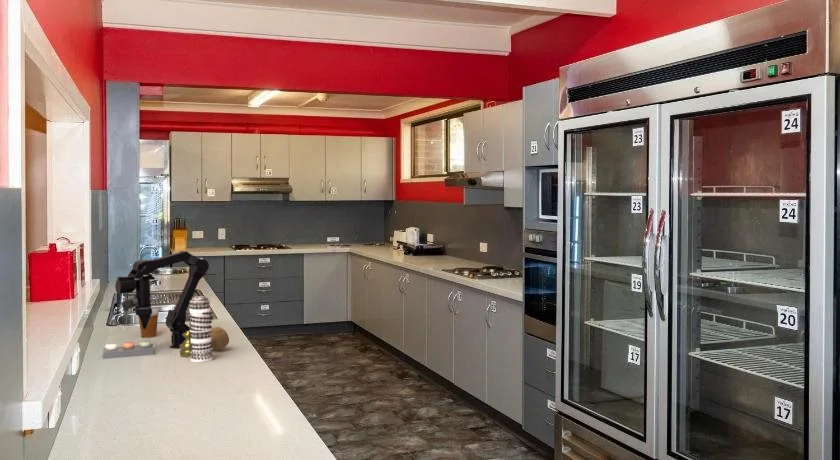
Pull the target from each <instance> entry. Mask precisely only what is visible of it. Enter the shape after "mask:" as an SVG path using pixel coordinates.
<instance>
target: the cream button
mask: <svg viewBox="0 0 840 460" xmlns="http://www.w3.org/2000/svg"><path fill="white" fill-rule="evenodd" d="M104 346H105V347H104V348H106V350H107V351H111V350H116V349H117V347H118V344H117V343H114V342H113V343H107V344H105V345H104Z"/></svg>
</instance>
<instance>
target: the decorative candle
mask: <svg viewBox="0 0 840 460" xmlns="http://www.w3.org/2000/svg"><path fill="white" fill-rule="evenodd" d="M210 301H211V299H209V298H208V297H207V296H206V295H197V296H192V299H191V301H189V302H190V303H189V313H188V314H187V316H188V321H189V322H188V325H189V329H190V332H191V343H190V345H191V347H190V349H192V350H191V351H190V353H191V356H190V357H189V358H190V361H191V362H193V363H205V362H209V361H212V360H213V359H214V357H213V352H214V351H213V350H214V349H213V348H212V345H211V344H212V341H211V330H212V328H213V326H212V325H211V324H212V323H213V321H212V319H213V317H212V316H211V315H212V314H213V312H212V311H211V305H210V304H211V303H210Z"/></svg>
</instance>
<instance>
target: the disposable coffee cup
mask: <svg viewBox="0 0 840 460" xmlns="http://www.w3.org/2000/svg"><path fill="white" fill-rule="evenodd" d="M159 313H160V312H159V309H157V308H152V314H151V316H150V319H149V321H148V324H147V327H146V329H143V327H142V323H141V319H140V317H139V316H138V315H137V317H138V323H139V329H140V334H141V338H149V339H150V338H154V337H157V333H158V332H157V330H158V319H159V315H160V314H159Z"/></svg>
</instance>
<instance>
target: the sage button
mask: <svg viewBox="0 0 840 460" xmlns="http://www.w3.org/2000/svg"><path fill="white" fill-rule="evenodd" d="M151 344H152V341H151V340H141V341H139V345H140V347H141V348H146V347H150V346H151Z"/></svg>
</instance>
